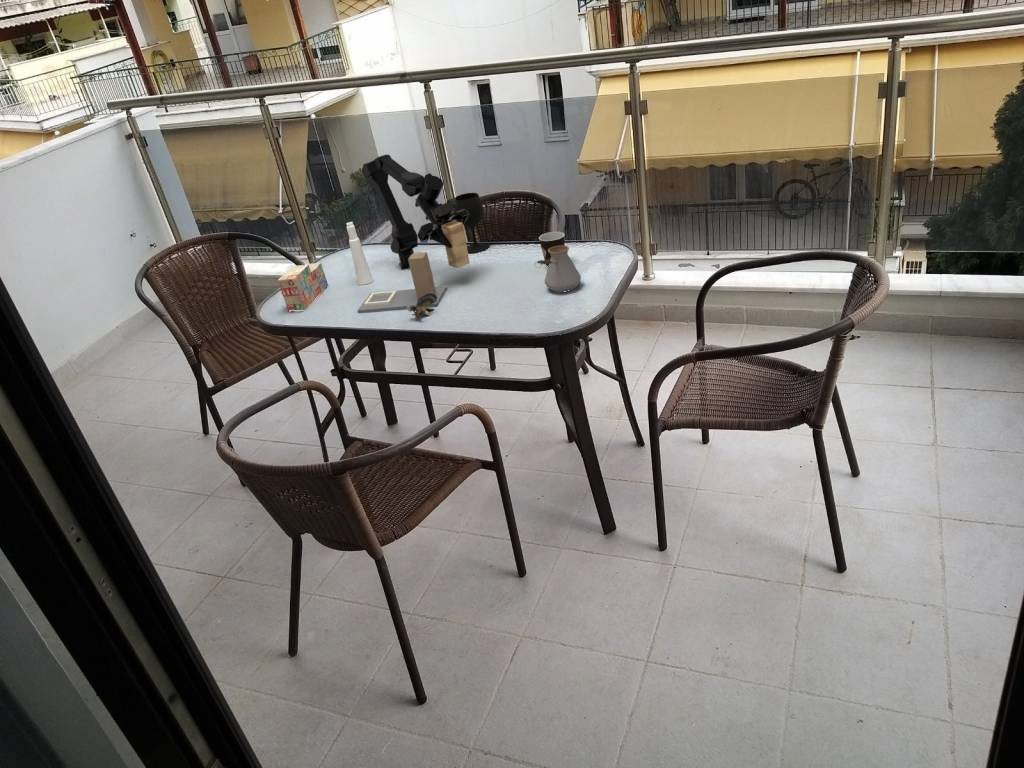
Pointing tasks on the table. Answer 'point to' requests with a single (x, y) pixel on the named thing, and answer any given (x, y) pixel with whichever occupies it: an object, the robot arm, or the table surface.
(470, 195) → the wine glass
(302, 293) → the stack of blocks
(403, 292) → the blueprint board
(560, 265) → the coffee pot
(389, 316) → the table surface
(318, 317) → the table surface
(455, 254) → the oak block
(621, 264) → the table surface
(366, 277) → the cosmetic bottle
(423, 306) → the chipmunk figurine
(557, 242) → the coffee mug
